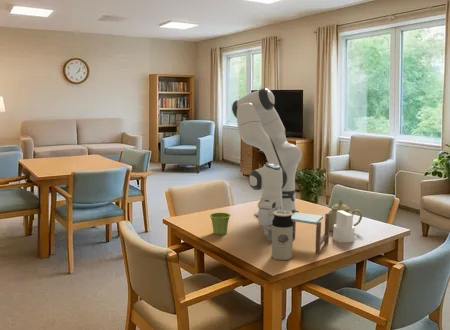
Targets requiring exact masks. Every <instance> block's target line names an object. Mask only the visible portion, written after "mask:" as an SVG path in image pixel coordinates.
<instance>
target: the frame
mask: <svg viewBox="0 0 450 330" xmlns="http://www.w3.org/2000/svg"><path fill="white" fill-rule="evenodd" d="M295 212H298V213H300V212H299V210H297V209H296V210H295V209H292V213H295ZM329 219H330V214H329V212H326V213H325V214H324V233H323V234H321V233H322V222H321V221H317V222H316V225H315V252H314V253H315V254H317V255H320V254H321V246H322V245H323V243H324V244H329V242H330V230H329ZM296 223H297V222H295V221H293V239H292V240H294V239H296V226H297V225H296Z"/></svg>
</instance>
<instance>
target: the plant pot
mask: <svg viewBox="0 0 450 330" xmlns="http://www.w3.org/2000/svg"><path fill="white" fill-rule="evenodd" d="M209 217H210V220H211V225H212V231H213V234H214V235H215V236H216V235H219V236H222V235H227V233H228V226H229V219H230V217H231V214H230V213H228V212H213V213H211V214H209Z"/></svg>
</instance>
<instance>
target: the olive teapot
mask: <svg viewBox="0 0 450 330" xmlns="http://www.w3.org/2000/svg"><path fill="white" fill-rule="evenodd" d="M339 210H343V211H345V212H347V213H349V214H352V215H353V216H354V215H355V212H358V214H359V218H358V221H357V222H356V223H354V224H353V226H354V227H357V226H358V225H359V224H360V223H361V222H362V219H363V213H362V211H361V210H360V209H357V208H356V209H354V210H352V211H350V207H349V206H348V205H347V204H344V201H343V198H339V200H338V203H335V204H334V205H331V209H330V210H329V211H328V213H329V214H330V219H329V232H333V230H334V224H336V217H337V211H339Z"/></svg>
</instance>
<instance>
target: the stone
mask: <svg viewBox="0 0 450 330" xmlns="http://www.w3.org/2000/svg"><path fill="white" fill-rule="evenodd" d="M268 228H269V234H268V235H266V234H265V240H266V241H271V242H272V225H269V227H268Z"/></svg>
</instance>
